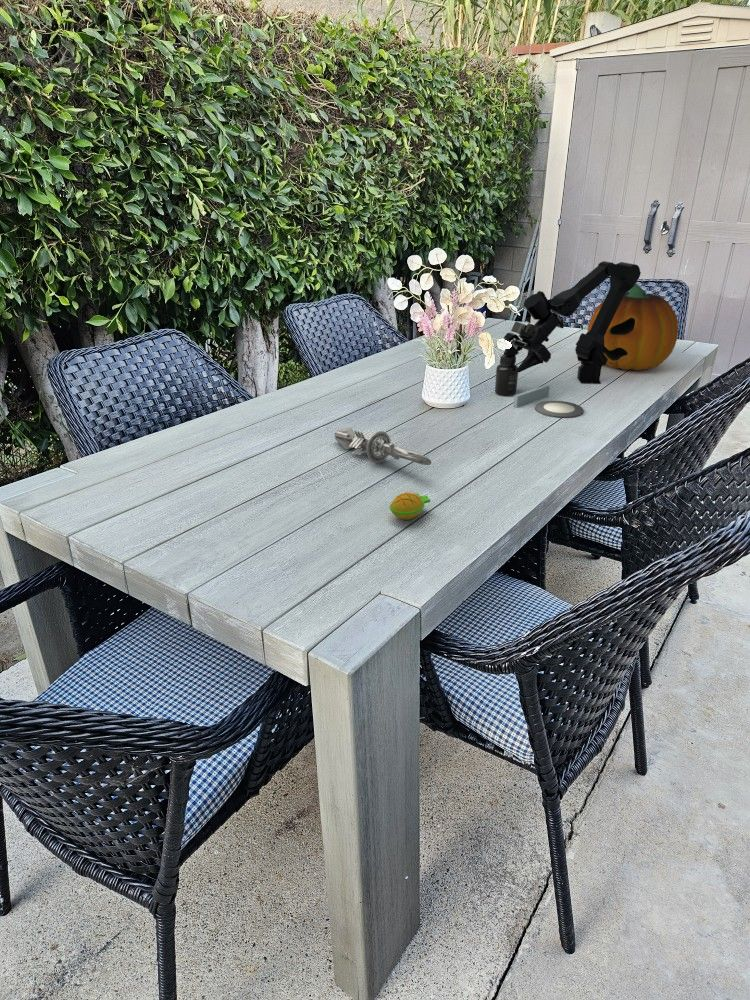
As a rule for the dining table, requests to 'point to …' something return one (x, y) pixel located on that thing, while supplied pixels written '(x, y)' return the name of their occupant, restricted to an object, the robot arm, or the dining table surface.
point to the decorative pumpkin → (639, 331)
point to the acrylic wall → (531, 396)
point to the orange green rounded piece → (408, 505)
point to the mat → (559, 409)
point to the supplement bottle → (506, 376)
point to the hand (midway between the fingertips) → (509, 367)
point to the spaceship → (376, 446)
